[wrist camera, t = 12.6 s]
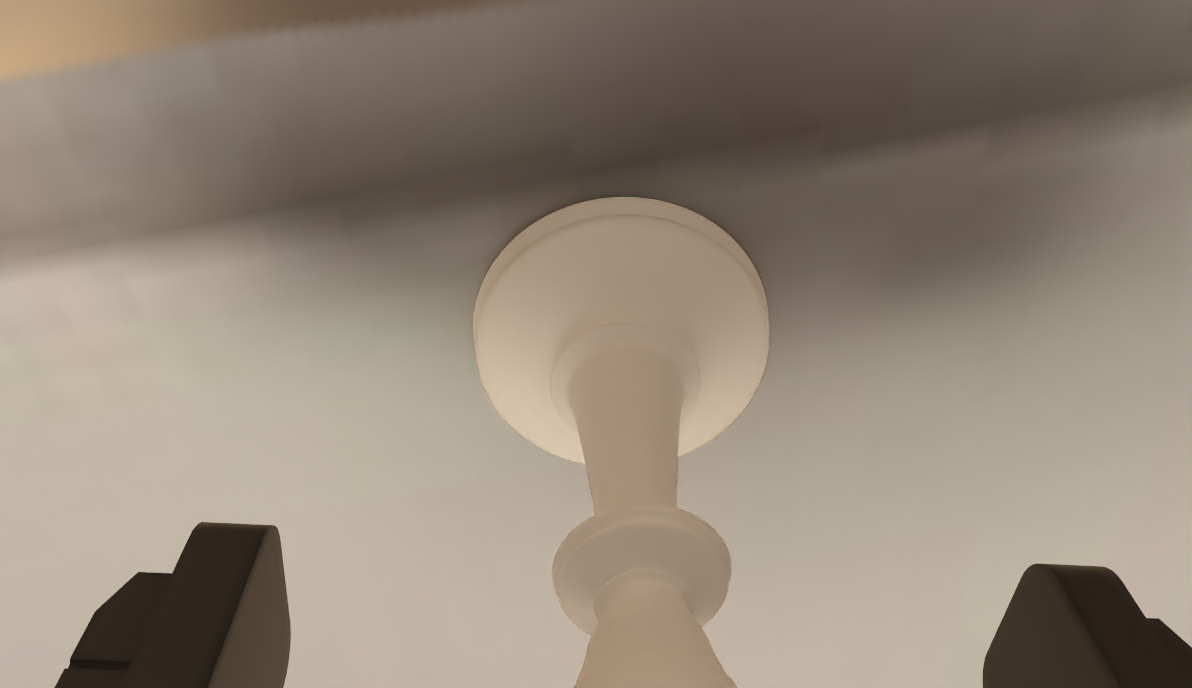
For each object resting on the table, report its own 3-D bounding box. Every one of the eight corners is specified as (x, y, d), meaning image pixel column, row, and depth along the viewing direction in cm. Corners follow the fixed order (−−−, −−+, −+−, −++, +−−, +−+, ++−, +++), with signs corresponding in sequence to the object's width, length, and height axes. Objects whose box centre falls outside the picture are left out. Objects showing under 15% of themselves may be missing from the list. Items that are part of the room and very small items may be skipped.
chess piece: (625, 131, 14) (702, 697, 6) (827, 329, 16) (1104, 971, 8) (413, 332, 16) (237, 990, 8) (617, 490, 18) (658, 1153, 10)
